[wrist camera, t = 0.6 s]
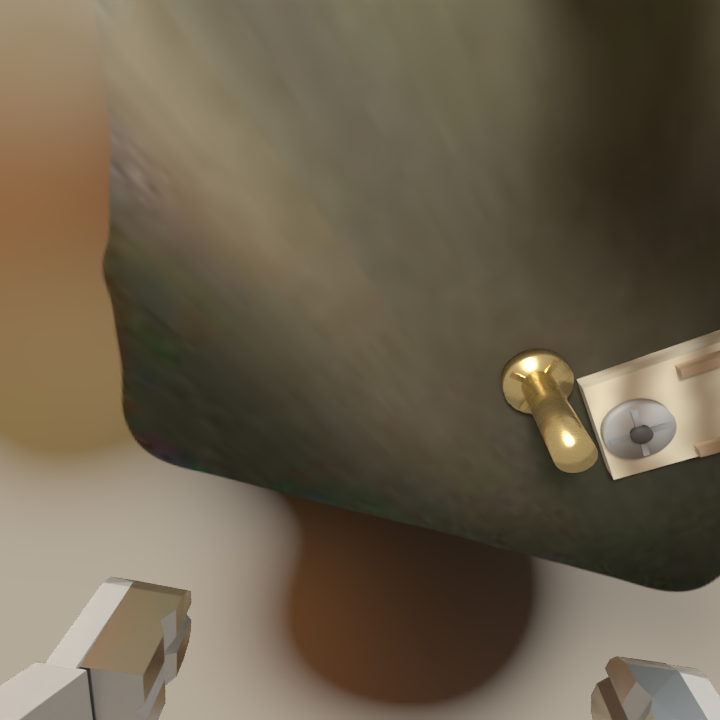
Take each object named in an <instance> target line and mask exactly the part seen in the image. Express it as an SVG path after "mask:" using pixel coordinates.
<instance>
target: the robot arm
mask: <svg viewBox="0 0 720 720" xmlns="http://www.w3.org/2000/svg"><path fill="white" fill-rule="evenodd" d="M190 605H191V591H188V590H183V589H177V588H172V587H167V586H161V585H156V584H151V583H145V582H140V581H134V580H128V579H122V578H116V577H110V578H108V579H107V580H106V581H105V582H104V583H102V584H101V586H100V587H99V588H98V590H97V591H96V593H95V594H94V595H93V597H92V598H91V600H90V601H89V602H88V604H87V605H86V607H85V608H84V609H83V611H82V612H81V614H80V615H79V616H78V618H77V619H76V621H75V622H74V623H73V625H72V626H71V627H70V629H69V630H68V632H67V633H66V635H65V636H64V637H63V639H62V640H61V642H60V643H59V644H58V646H57V647H56V648H55V650H54V651H53V653H52V654H51V656H50V657H49V658H48V660H47V661H46V662H45V663H41V662H35V663H34V664H32V665H31V666H29V667H28V668H26V669H25V670H23V671H21V672H20V673H18V674H17V675H15V676H14V677H12V678H11V679H9V680H8V681H6V682H4V683H3V684H1V685H0V720H158V719H159V716H160V714H161V712H162V709H163V707H164V705H165V685H167V684H168V683H169V682H170V681H171V680H173V679H174V678H175V677H176V676H177V674H178V672H179V669H180V667H181V664H182V662H183V659H184V656H185V653H186V649H187V646H188V643H189V638H190V631H191V619H190V618H189V617H188V616H187V611H188V609H189V607H190ZM605 669H606V671H607V674H608V676H609V677H608V678H606V679H604V680H602V681H601V682H598V683H597V684H596V686H595V688H594V691H593V693H592V695H591V713H592V718H593V720H720V697H719V695H718V694H717V692H716V691H715V689H714V688H713V686H712V685H711V683H710V682H709V680H708V679H707V677H706V676H705V675H704V674H703V673H701V672H700V671H699V670H698V669H694V668H689V667H682V666H675V665H668V664H666V663H660V662H653V661H646V660H638V659H632V658H624V657H614V658H612V659H610V660H609V662H608V664H607V666H606V668H605Z"/></svg>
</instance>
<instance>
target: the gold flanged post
mask: <svg viewBox="0 0 720 720" xmlns="http://www.w3.org/2000/svg"><path fill="white" fill-rule="evenodd" d="M500 381H501V387H502V390H503V393H504V395H505V398H506V400H507V401H508V403H509V404H510V405H511V406H512V407H514V408H515V409H517V410H519V411H521V412H524V413H529V414H532V415H533V417H534V419H535V421H536V424H537V426H538V428H539V430H540V432H541V435H542V437H543V439H544V441H545V443H546V446H547V448H548V450H549V452H550V454H551V457H552V459H553V461H554V463H555V465H556V466H557V468H559V469H560V470H562V471H564V472H568V473H577V472H582V471H585V470H587V469H588V468H590V467H591V466H592V465H593V464H594V463H595V462H596V460H597V457H598V451H597V448H596V447H595V445H594V443H593V442H592V440H591V438H590V437H589V435H588V433H587V432H586V430H585V428H584V427H583V425H582V423H581V422H580V420H579V419H578V417H577V415H576V414H575V412H574V410H573V409H572V407H571V405H570V404H569V402H568V400H567V398H568V397H569V395H570V394H571V392H572V389H573V385H574V378H573V373H572V371H571V369H570V368H569V366H568V365H567V363H566V362H565V361H564V359H563V358H562V357H561V356H560V355H558V354H557V353H555V352H553V351H550V350H547V349H530V350H526V351H523V352H521V353H519V354H517V355H516V356H514V357H513V358H512V359H511V360H510V361H509V362H508V363H507V364H506V365H505V367H504V369H503V371H502V374H501V380H500Z"/></svg>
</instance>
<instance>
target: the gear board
mask: <svg viewBox="0 0 720 720" xmlns="http://www.w3.org/2000/svg"><path fill="white" fill-rule="evenodd" d="M576 380H577V383H578V386H579V389H580V392H581V395H582V398H583V401H584V404H585V406H586V409H587V412H588V415H589V418H590V421H591V424H592V427H593V430H594V433H595V436H596V438H597V441H598V444H599V447H600V450H601V453H602V456H603V459H604V462H605V465H606V468H607V469H608V471H609V473H610V474H611V476H612V478H613V479H614V480H615V479H619V478H622V477H626V476H630V475H633V474H637V473H640V472H644V471H648V470H651V469H655V468H658V467H662V466H666V465H669V464H673V463H676V462H680V461H683V460H687V459H691V458H694V457H698V456H700V457H704V456H708V455H711V454H715V453H719V452H720V330H718V331H715V332H712V333H709V334H706V335H703V336H700V337H697V338H694V339H692V340H689V341H686V342H683V343H680V344H677V345H674V346H671V347H669V348H666V349H663V350H660V351H657V352H654V353H651V354H648V355H646V356H643V357H640V358H637V359H634V360H631V361H628V362H625V363H622V364H620V365H617V366H614V367H611V368H608V369H605V370H602V371H599V372H597V373H594V374H591V375H588V376H585V377H582V378H579V379H576Z"/></svg>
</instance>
